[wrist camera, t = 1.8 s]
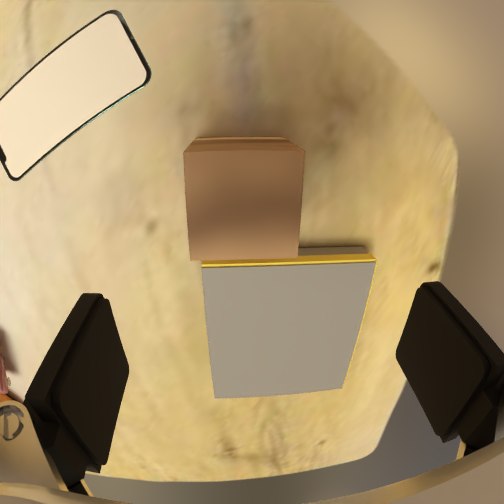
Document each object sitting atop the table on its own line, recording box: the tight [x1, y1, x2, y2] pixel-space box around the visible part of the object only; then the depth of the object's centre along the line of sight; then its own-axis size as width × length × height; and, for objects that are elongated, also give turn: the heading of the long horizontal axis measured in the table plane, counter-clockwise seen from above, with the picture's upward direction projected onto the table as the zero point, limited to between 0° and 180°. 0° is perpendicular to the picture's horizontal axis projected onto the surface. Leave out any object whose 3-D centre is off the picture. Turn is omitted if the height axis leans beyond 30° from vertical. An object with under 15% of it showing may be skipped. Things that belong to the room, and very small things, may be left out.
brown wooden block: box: [183, 137, 305, 261], centre depth 21 cm, size 6×6×7 cm
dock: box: [202, 246, 377, 398], centre depth 29 cm, size 16×14×3 cm
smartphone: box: [0, 10, 151, 181], centre depth 19 cm, size 8×1×16 cm
